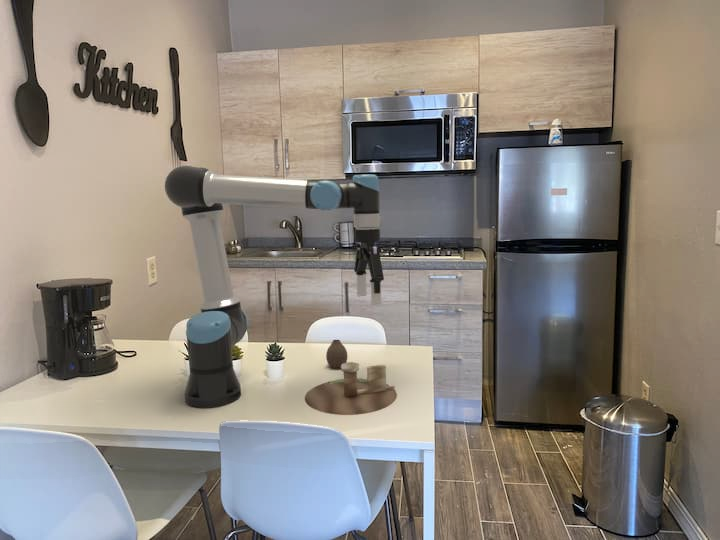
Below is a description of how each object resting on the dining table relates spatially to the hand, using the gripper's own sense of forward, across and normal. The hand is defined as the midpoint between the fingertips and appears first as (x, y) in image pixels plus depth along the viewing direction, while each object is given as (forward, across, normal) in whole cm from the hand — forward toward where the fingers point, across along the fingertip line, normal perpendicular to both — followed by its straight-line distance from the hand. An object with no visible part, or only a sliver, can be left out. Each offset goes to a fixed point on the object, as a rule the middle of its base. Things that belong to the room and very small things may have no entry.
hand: (368, 300), depth 149 cm
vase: (+24, +15, +7) cm, 29 cm away
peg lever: (+23, -13, +5) cm, 27 cm away
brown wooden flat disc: (+24, -13, +10) cm, 29 cm away
